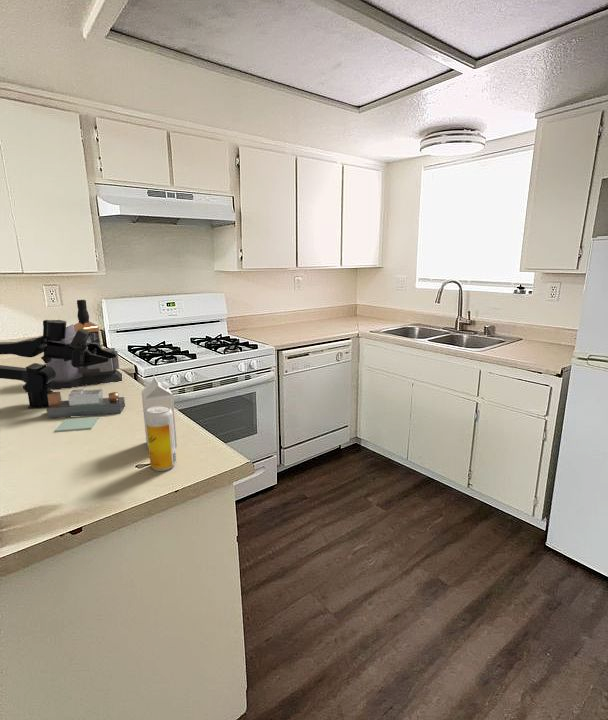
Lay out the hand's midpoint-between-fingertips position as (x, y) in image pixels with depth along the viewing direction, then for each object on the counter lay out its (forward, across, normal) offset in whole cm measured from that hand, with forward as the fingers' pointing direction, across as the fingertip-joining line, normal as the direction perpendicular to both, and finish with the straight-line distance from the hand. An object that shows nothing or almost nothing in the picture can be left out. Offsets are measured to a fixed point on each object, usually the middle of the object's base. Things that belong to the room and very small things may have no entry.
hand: (112, 357), depth 145 cm
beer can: (+28, -51, +15) cm, 60 cm away
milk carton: (+25, -38, +15) cm, 48 cm away
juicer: (-18, +30, +18) cm, 39 cm away
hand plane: (-4, -8, +18) cm, 20 cm away
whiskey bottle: (-23, +53, +17) cm, 61 cm away
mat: (-3, -20, +18) cm, 27 cm away
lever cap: (-4, -9, +14) cm, 17 cm away
